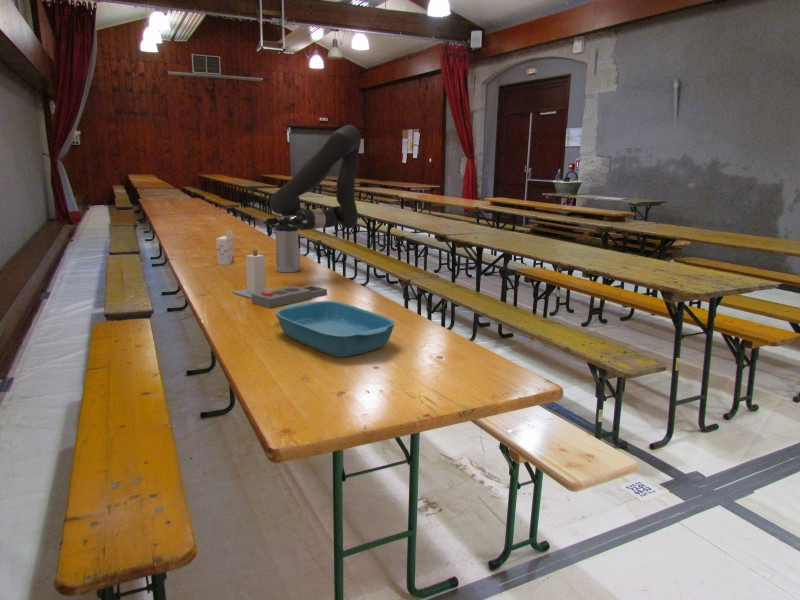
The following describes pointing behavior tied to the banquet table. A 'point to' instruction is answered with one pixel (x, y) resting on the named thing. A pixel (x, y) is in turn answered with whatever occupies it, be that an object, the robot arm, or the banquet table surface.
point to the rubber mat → (245, 293)
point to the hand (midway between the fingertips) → (272, 222)
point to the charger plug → (255, 273)
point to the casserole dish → (335, 327)
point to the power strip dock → (287, 295)
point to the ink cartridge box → (225, 249)
